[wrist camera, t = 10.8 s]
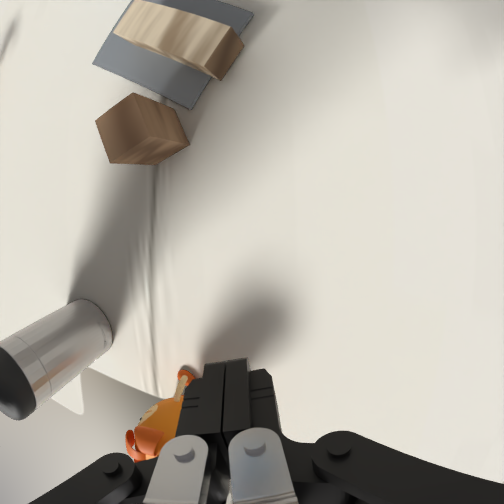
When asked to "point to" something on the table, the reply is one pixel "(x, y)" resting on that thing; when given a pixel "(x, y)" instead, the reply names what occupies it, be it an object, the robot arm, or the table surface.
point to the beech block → (181, 37)
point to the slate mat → (160, 67)
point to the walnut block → (140, 131)
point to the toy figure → (157, 424)
